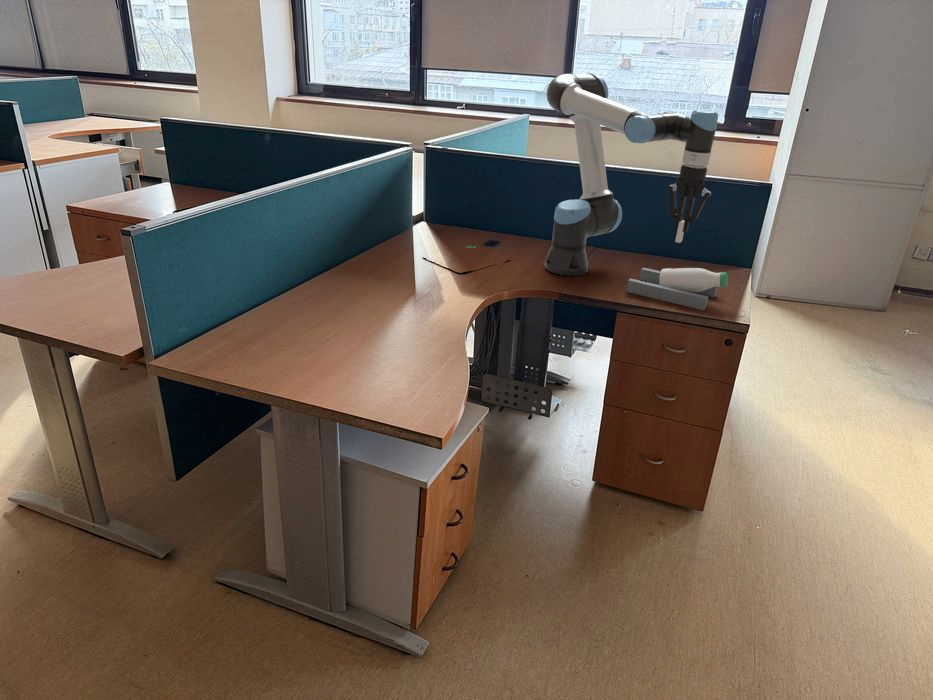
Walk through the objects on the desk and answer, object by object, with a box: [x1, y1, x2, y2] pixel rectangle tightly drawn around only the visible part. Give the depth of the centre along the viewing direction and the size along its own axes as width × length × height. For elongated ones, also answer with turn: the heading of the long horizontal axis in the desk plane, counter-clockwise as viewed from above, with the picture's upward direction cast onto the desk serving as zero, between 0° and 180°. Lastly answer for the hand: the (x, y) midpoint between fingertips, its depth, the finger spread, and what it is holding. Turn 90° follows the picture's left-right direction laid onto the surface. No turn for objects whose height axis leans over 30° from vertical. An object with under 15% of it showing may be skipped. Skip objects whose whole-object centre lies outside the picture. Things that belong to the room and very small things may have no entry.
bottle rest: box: [626, 267, 719, 311], centre depth 211 cm, size 25×15×4 cm, turn 58°
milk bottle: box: [659, 267, 729, 293], centre depth 207 cm, size 8×8×20 cm
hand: (678, 241), depth 205 cm, fingers closed
